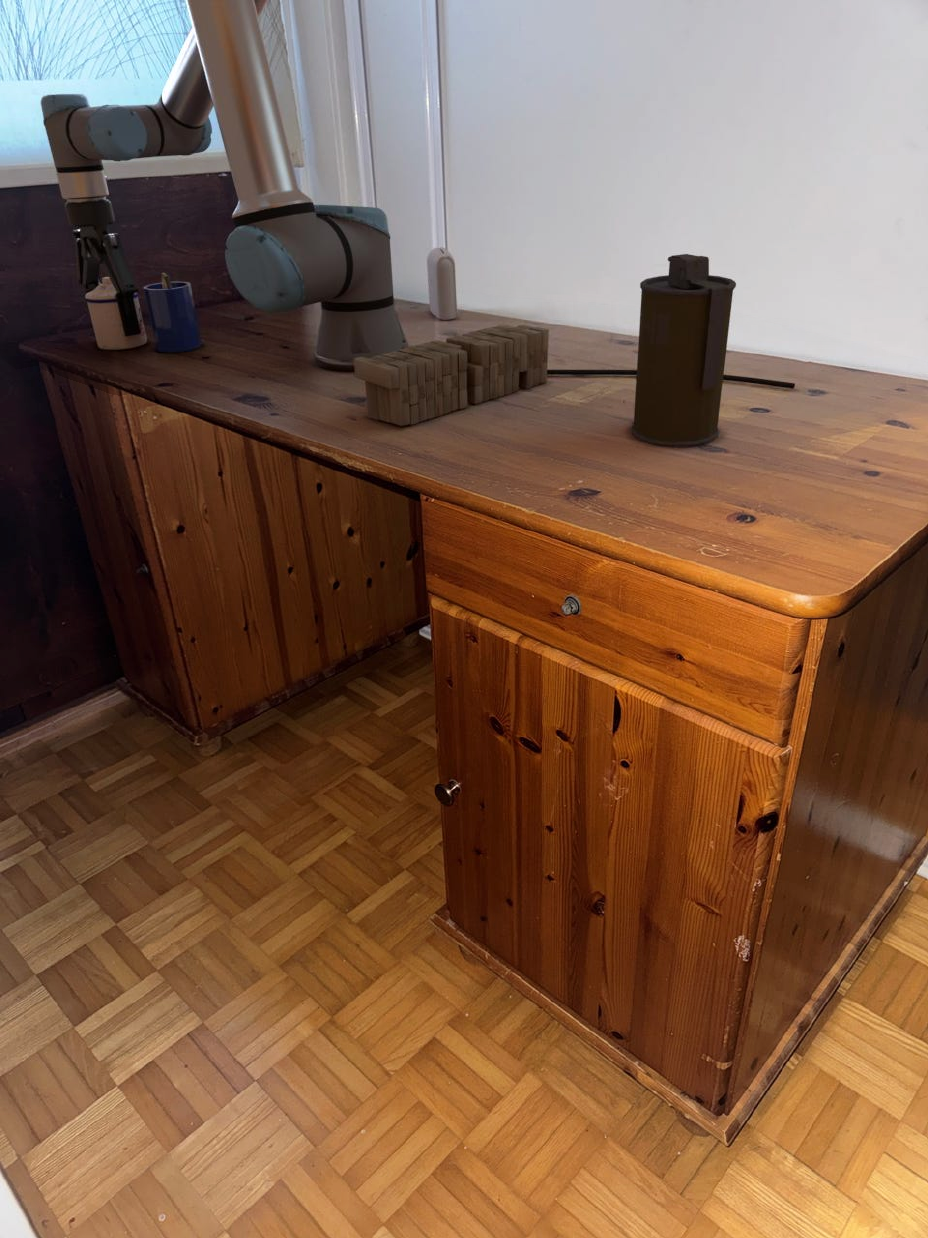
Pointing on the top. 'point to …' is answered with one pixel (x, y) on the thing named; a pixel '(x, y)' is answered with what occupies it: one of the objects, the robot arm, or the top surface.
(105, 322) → the teacup with lid
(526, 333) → the block tower
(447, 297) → the photo printer
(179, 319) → the pen pot
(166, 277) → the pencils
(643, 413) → the canister
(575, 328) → the top surface
